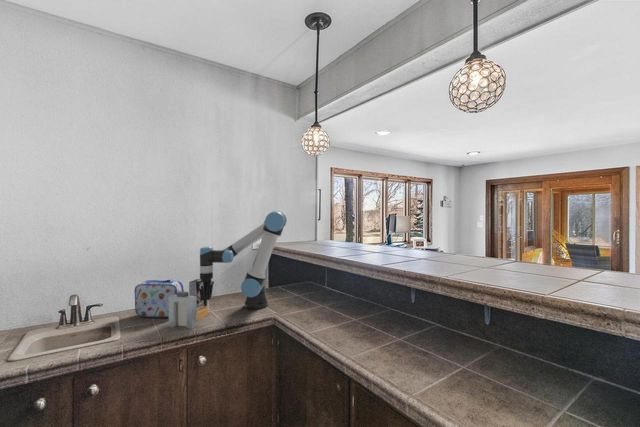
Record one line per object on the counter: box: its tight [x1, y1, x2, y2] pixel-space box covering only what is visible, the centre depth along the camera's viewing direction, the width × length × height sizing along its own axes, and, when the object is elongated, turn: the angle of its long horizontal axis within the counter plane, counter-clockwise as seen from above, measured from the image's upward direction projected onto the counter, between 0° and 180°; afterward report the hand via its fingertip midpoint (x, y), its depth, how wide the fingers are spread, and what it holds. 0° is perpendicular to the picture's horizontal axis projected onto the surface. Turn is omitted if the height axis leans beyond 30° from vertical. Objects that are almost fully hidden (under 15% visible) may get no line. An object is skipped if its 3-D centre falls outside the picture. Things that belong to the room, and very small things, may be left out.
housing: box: [168, 291, 197, 330], centre depth 162 cm, size 14×4×18 cm, turn 78°
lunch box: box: [134, 279, 185, 319], centre depth 178 cm, size 28×10×22 cm, turn 89°
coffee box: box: [188, 278, 204, 308], centre depth 200 cm, size 9×6×16 cm
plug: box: [177, 302, 209, 327], centre depth 173 cm, size 21×6×12 cm, turn 167°
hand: (206, 310), depth 184 cm, fingers closed
